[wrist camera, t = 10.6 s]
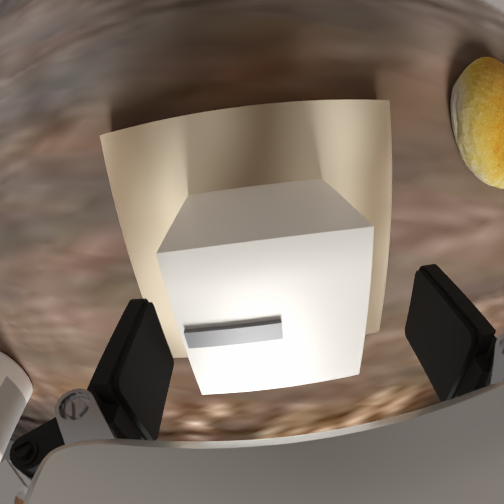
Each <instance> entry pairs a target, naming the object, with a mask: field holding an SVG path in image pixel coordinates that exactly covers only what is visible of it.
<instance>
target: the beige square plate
mask: <svg viewBox="0 0 504 504" xmlns="http://www.w3.org/2000/svg"><path fill="white" fill-rule="evenodd" d="M100 138H101V143H102V149H103V154H104V159H105V163H106V168H107V173H108V177H109V182H110V186H111V190H112V194H113V199H114V203H115V207H116V210H117V214H118V218H119V222H120V226H121V229H122V233H123V236H124V240H125V243H126V247H127V250H128V253H129V257H130V260H131V263H132V266H133V270H134V273H135V276H136V279H137V282H138V285H139V288H140V291H141V294H142V297H143V299H144V298H146V299H147V300H148V301H149V302H152V303H153V304H154V307H155V310H156V313H157V315H158V318H159V321H160V324H161V327H162V329H163V332H164V335H165V338H166V340H167V343H168V346H169V348H170V351H171V353H172V356H173V358H181V357H188V355H187V352H186V349H185V346H184V344H183V341H182V338H181V335H180V332H179V329H178V326H177V323H176V319H175V316H174V313H173V310H172V307H171V304H170V300H169V297H168V294H167V290H166V287H165V284H164V280H163V277H162V273H161V270H160V266H159V263H158V259H157V255H156V253H157V251H158V249H159V247H160V245H161V243H162V241H163V239H164V238H165V236H166V234H167V232H168V230H169V228H170V227H171V225H172V223H173V221H174V219H175V217H176V216H177V214H178V212H179V210H180V209H181V207H182V205H183V203H184V202H185V200H186V198H187V196H188V195H192V194H199V193H206V192H212V191H219V190H227V189H234V188H241V187H249V186H257V185H266V184H274V183H283V182H293V181H303V180H313V179H323V180H324V181H325V182H327V183H328V184H329V185H330V186H331V187H332V188H333V189H334V190H336V191H337V192H338V193H339V194H340V195H341V196H342V197H343V198H344V199H345V200H347V201H348V202H349V203H350V204H351V205H352V206H353V207H354V208H355V209H356V210H357V211H358V212H359V213H360V214H362V215H363V216H364V217H365V218H366V219H367V220H368V221H369V222H370V223H371V224H372V225H373V226H374V238H373V257H372V271H371V284H370V295H369V305H368V314H367V322H366V330H365V334H369V333H374V332H379V328H380V321H381V315H382V308H383V300H384V293H385V284H386V275H387V265H388V254H389V241H390V225H391V203H392V141H391V118H390V103H389V100H312V101H294V102H281V103H269V104H259V105H250V106H242V107H234V108H226V109H220V110H213V111H207V112H201V113H195V114H189V115H184V116H179V117H173V118H169V119H164V120H159V121H154V122H150V123H146V124H141V125H137V126H133V127H129V128H125V129H121V130H118V131H114V132H110V133H107V134H103V135H100Z"/></svg>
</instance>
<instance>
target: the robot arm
mask: <svg viewBox="0 0 504 504" xmlns="http://www.w3.org/2000/svg"><path fill="white" fill-rule="evenodd" d="M495 332H496V330H495V329H494V328H493V327H492V325H491V324H490V323H489V322H488V321H487V320H486V318H485V317H484V316H483V315H482V314H481V313H480V311H479V310H478V309H477V308H476V307H475V306H474V305H473V303H472V302H471V301H470V300H469V299H468V298H467V297H466V296H465V295H464V293H463V292H462V291H461V290H460V289H459V288H458V287H457V286H456V285H455V284H454V283H453V282H452V281H451V279H450V278H449V277H448V276H447V275H446V274H445V273H444V272H443V271H442V270H441V269H440V268H439V267H438V266H437V265H436V264H431V265H425V266H421V267H420V268H419V271H416V274H415V279H414V285H413V291H412V297H411V302H410V307H409V312H408V317H407V322H406V327H405V335H406V338H407V340H408V341H409V343H410V345H411V347H412V348H413V350H414V352H415V354H416V356H417V357H418V359H419V361H420V363H421V365H422V367H423V368H424V370H425V372H426V374H427V376H428V378H429V380H430V382H431V384H432V385H433V387H434V389H435V391H436V393H437V395H438V397H439V399H440V401H441V403H438V404H435V405H432V406H429V407H426V408H423V409H419V410H416V411H413V412H409V413H406V414H402V415H398V416H395V417H391V418H387V419H383V420H379V421H374V422H370V423H366V424H361V425H356V426H352V427H347V428H341V429H336V430H330V431H324V432H318V433H311V434H304V435H296V436H288V437H279V438H268V439H256V440H241V441H210V442H192V441H156V440H157V438H158V434H159V429H160V424H161V419H162V415H163V410H164V405H165V401H166V396H167V392H168V388H169V383H170V379H171V375H172V370H173V366H174V360H173V356H172V353H171V351H170V348H169V346H168V343H167V340H166V338H165V335H164V332H163V329H162V327H161V324H160V321H159V318H158V315H157V313H156V310H155V307H154V304H153V303H152V302H149V301H148V300H147V299H146V298H144V299H132V300H130V301H129V303H128V305H127V307H126V309H125V311H124V313H123V315H122V317H121V319H120V321H119V323H118V325H117V327H116V329H115V331H114V333H113V335H112V337H111V339H110V341H109V343H108V345H107V347H106V349H105V351H104V353H103V355H102V357H101V360H100V362H99V364H98V366H97V368H96V370H95V373H94V375H93V377H92V379H91V381H90V384H89V386H88V389H87V390H86V389H73V390H70V391H68V392H67V393H65V394H63V395H62V396H61V398H60V399H59V400H58V402H57V403H56V406H55V416H56V417H55V418H53V419H52V420H50V421H48V422H46V423H45V424H43V425H41V426H39V427H37V428H36V429H34V430H32V431H30V432H28V433H27V434H25V435H23V436H21V437H20V438H18V439H17V440H16V441H15V442H14V443H13V445H12V447H11V450H10V460H9V461H7V460H6V459H5V460H4V461H3V462H2V463H1V464H0V504H504V334H503V335H501V336H499V337H498V338H496V337H495V336H494V334H495Z"/></svg>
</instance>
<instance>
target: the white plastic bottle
mask: <svg viewBox="0 0 504 504" xmlns="http://www.w3.org/2000/svg"><path fill="white" fill-rule="evenodd" d="M32 392H33V388H32V383H31V381H30V379H29V377H28V376H27V374H26V373H25V372H24V370H23V369H22V368H21V367H20V366H19V365H18V364H17V363H16V362H15V361H14V360H12V359H11V358H10V357H9V356H7V355H6V354H4V353H2V352H1V351H0V461H1V459H2V456H3V454H4V452H5V449H6V447H7V444H8V442H9V440H10V438H11V436H12V433H13V431H14V429H15V427H16V425H17V423H18V420H19V418H20V416H21V414H22V412H23V410H24V408H25V406H26V404H27V402H28V400H29V398H30V396H31V394H32Z"/></svg>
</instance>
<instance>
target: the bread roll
mask: <svg viewBox="0 0 504 504" xmlns="http://www.w3.org/2000/svg"><path fill="white" fill-rule="evenodd" d="M451 122H452V128H453V132H454V136H455V139H456V143H457V145H458V148H459V151H460V154H461V156H462V159H463V160H464V162H465V164H466V165H467V166H468V168H469V169H470V170H471V171H472V172H473V173H474V175H475V176H476V177H478V178H479V179H480V180H481V181H483V182H484V183H486V184H488V185H490V186H494V187H498V188H501V189H504V64H503V63H502V62H500V61H499V60H497V59H495V58H492V57H482V58H479V59H476V60H475V61H473V62H472V63H471V64H470V65H469V66H468V67H467V68H466V69H465V70H464V71H463V73H462V74H461V75H460V76H459V78H458V79H457V81H456V83H455V84H454V86H453V89H452V95H451Z"/></svg>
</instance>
